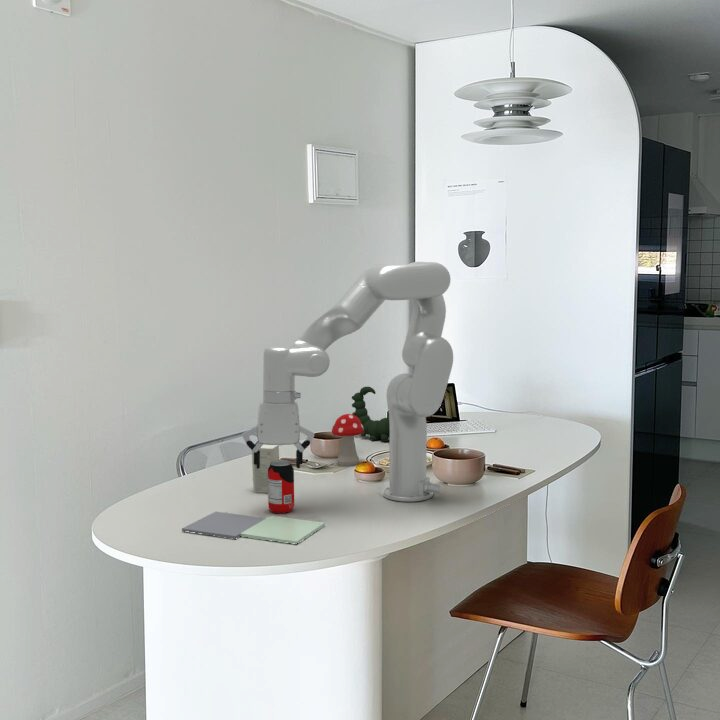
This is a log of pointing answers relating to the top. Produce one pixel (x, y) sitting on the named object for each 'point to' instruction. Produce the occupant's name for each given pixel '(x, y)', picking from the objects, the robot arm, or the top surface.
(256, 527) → the green pad
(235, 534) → the grey pad
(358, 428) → the decorative mushroom
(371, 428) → the toy figurine
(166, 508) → the top surface
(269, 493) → the beverage can
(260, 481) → the skincare box
